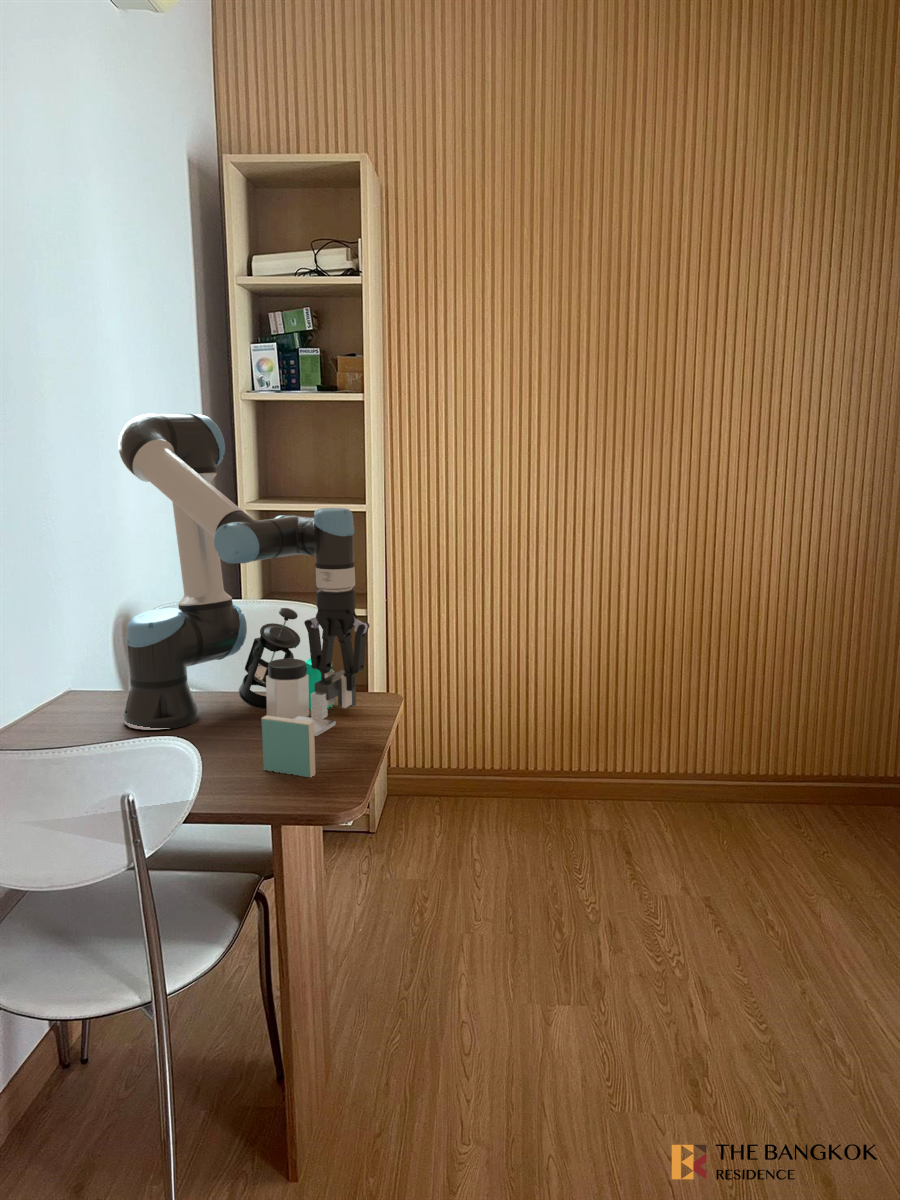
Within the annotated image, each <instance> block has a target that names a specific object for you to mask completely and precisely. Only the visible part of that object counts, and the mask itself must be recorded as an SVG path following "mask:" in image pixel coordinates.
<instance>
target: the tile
mask: <svg viewBox="0 0 900 1200" xmlns="http://www.w3.org/2000/svg"><path fill="white" fill-rule="evenodd" d="M261 735H262V737H261V740H262V762H263V764H262V765H263V771H266V770H267V772H268V771H269V772H272V771H274V772H275V773H279V772H280V774H285V773H286V775H291V774H293V775H292V776H297V775H298V776H299V777H305V778H310V777H311V778H313V777H314V776H316V775H315V774H317V773H316V752H315V751H316V749H315V748H316V747H315V743H316V742H315V736H314V722H312V721H305V720H297V719H290V718H282V717H275V716H267V714H266V715H264V716H262V717H261ZM312 776H313V777H312Z"/></svg>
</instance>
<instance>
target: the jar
mask: <svg viewBox="0 0 900 1200" xmlns="http://www.w3.org/2000/svg"><path fill="white" fill-rule="evenodd" d="M270 661H271V660H270ZM270 661H269V662H268V675H267V676H266V688H265V689H266V691H265V692H266V695H265V696H266V702H267V709H266V715H267V716H275V717H282V718H290V719H294V718H296V717H298V716H302V717H309V715H310V709H309V676H308V674H306V671H307V667H306V660H302V659H298V658H294V659H284V658H279V659H275V660H274V659H273V660H272V661H271V662H270Z"/></svg>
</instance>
